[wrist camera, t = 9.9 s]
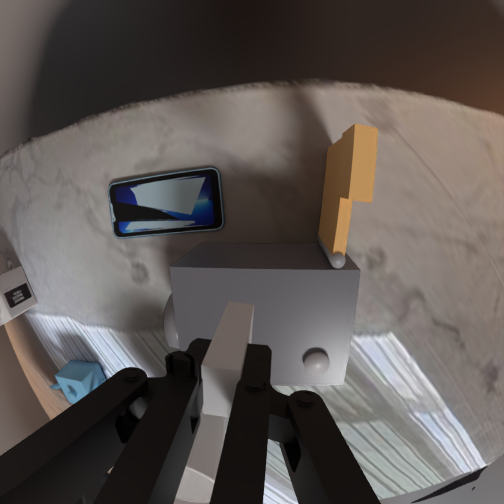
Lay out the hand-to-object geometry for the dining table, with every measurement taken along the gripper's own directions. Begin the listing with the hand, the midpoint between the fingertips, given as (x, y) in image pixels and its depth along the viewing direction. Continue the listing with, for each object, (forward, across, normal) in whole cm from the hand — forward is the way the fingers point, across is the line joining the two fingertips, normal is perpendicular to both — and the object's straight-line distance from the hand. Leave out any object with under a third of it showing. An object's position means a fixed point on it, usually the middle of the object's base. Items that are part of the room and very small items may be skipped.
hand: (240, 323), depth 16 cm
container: (+18, -44, -11) cm, 49 cm away
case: (+17, 0, -4) cm, 18 cm away
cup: (+18, -7, -25) cm, 31 cm away
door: (+16, +7, +8) cm, 20 cm away
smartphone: (+18, -12, +6) cm, 22 cm away
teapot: (+19, -29, -25) cm, 42 cm away
